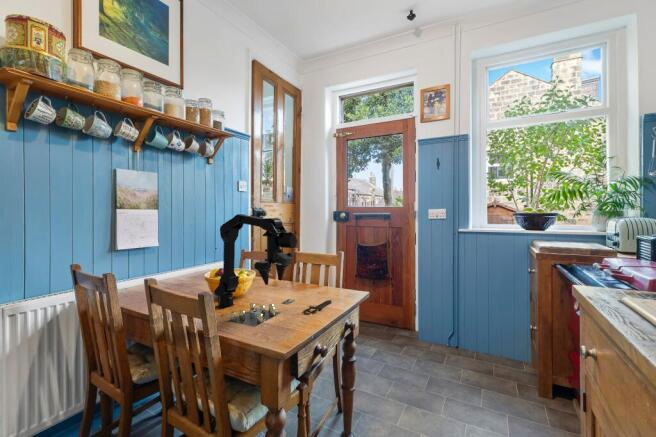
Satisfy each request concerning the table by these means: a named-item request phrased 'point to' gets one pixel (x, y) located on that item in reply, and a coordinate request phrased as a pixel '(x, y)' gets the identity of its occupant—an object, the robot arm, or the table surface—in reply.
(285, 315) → the table surface
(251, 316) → the nut
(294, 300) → the pliers
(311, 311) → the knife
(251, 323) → the spacer plate
